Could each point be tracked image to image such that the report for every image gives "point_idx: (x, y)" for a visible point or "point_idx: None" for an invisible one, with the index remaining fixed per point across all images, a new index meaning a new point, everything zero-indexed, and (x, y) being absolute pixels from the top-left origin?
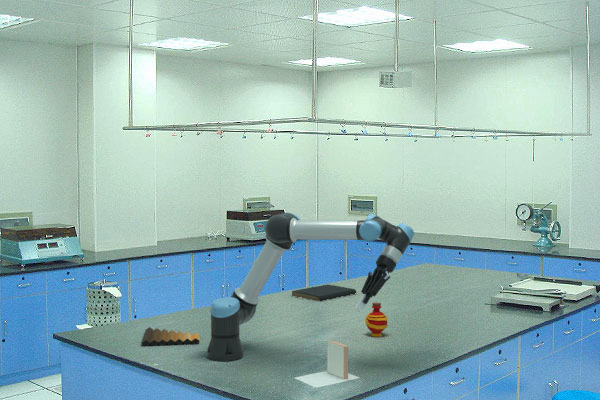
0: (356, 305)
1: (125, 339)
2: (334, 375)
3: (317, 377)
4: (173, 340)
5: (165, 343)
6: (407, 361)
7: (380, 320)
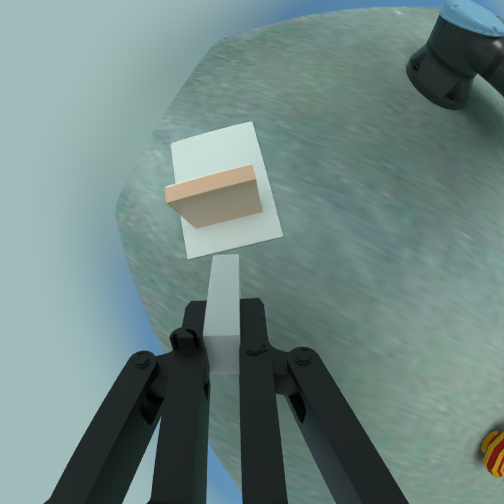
0: (235, 264)
1: None
2: None
3: (233, 165)
4: None
5: None
6: (281, 444)
7: (496, 461)
